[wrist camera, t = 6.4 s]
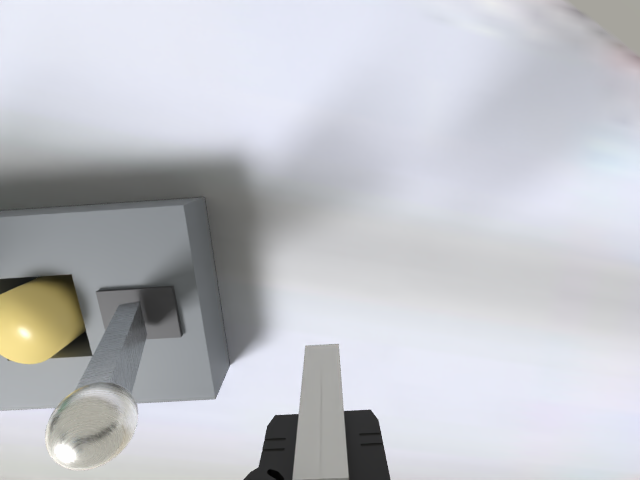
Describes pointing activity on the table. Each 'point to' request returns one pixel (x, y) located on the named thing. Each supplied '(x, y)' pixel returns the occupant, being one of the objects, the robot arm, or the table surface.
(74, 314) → the button mustard
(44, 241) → the panel
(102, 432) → the lever
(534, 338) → the table surface
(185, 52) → the table surface
